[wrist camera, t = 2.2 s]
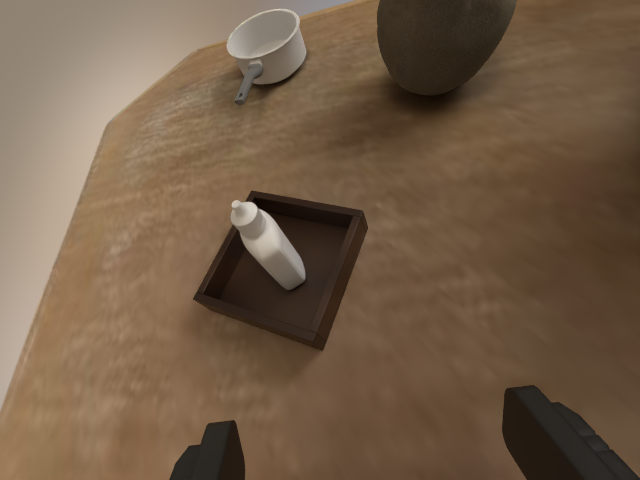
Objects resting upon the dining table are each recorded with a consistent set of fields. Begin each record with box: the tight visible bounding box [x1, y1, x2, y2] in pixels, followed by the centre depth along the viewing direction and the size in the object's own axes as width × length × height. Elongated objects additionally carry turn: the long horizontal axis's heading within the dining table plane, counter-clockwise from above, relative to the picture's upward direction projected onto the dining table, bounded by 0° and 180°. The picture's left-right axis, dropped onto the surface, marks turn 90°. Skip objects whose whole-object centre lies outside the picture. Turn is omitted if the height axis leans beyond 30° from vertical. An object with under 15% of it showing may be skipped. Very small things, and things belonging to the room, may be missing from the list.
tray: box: [193, 191, 368, 350], centre depth 37 cm, size 14×14×3 cm
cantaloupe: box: [377, 0, 516, 95], centre depth 40 cm, size 14×14×15 cm
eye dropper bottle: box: [230, 200, 305, 290], centre depth 33 cm, size 4×6×12 cm
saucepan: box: [227, 9, 306, 105], centre depth 53 cm, size 12×20×6 cm, turn 171°
